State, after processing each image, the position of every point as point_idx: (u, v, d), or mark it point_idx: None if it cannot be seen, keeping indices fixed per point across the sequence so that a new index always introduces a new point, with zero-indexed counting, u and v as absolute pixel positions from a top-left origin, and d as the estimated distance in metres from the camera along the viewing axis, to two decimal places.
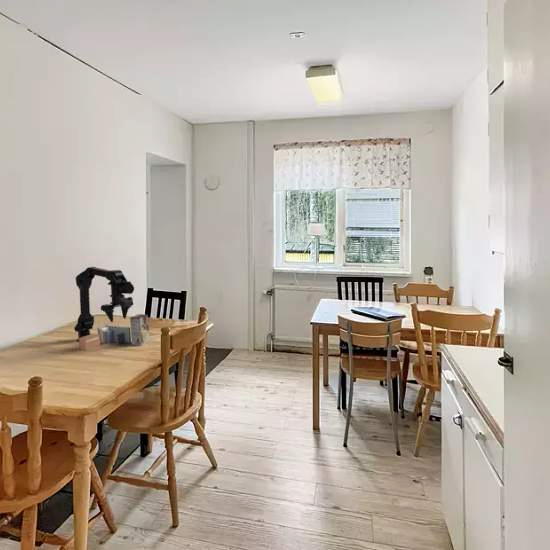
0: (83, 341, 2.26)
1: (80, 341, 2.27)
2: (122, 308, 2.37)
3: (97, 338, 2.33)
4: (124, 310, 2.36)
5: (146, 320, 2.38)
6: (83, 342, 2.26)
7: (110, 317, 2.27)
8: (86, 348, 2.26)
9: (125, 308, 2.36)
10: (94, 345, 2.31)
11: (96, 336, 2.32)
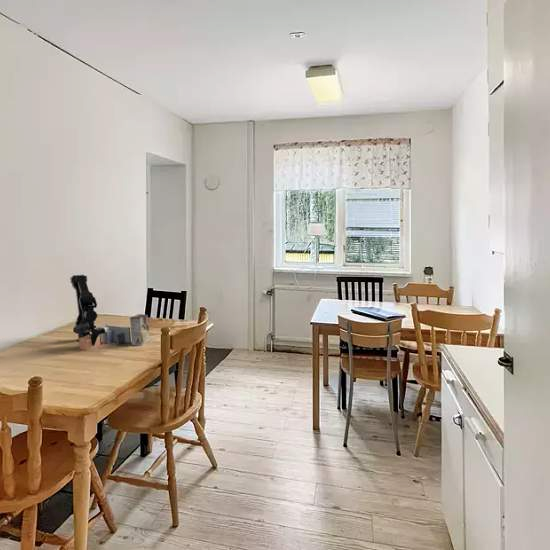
0: (83, 341, 2.26)
1: (80, 341, 2.27)
2: None
3: (97, 338, 2.33)
4: None
5: (146, 320, 2.38)
6: (83, 342, 2.26)
7: None
8: (86, 348, 2.26)
9: None
10: (94, 345, 2.31)
11: None
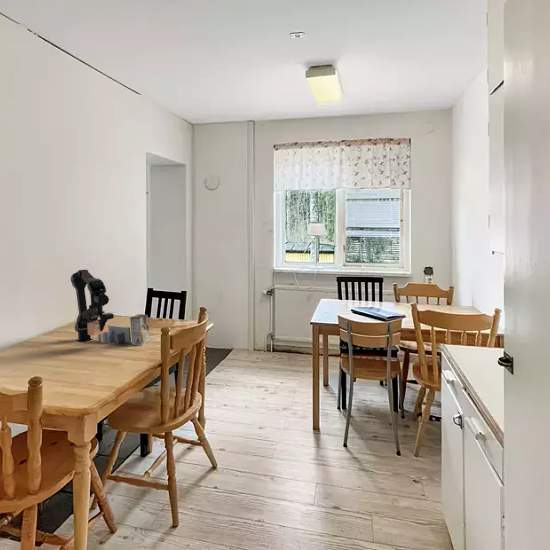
0: (91, 326, 2.22)
1: (88, 326, 2.23)
2: None
3: (106, 323, 2.30)
4: None
5: (146, 320, 2.38)
6: (91, 327, 2.23)
7: None
8: (94, 333, 2.23)
9: None
10: None
11: None
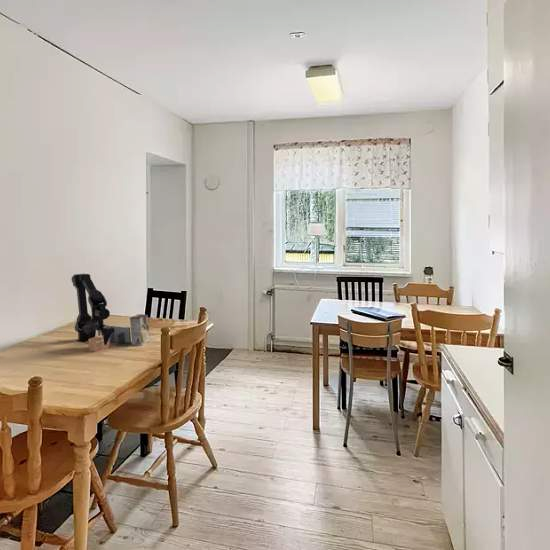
0: (92, 342, 2.23)
1: (89, 342, 2.24)
2: None
3: None
4: None
5: (146, 320, 2.38)
6: (92, 343, 2.24)
7: None
8: (95, 349, 2.24)
9: None
10: (103, 346, 2.29)
11: None
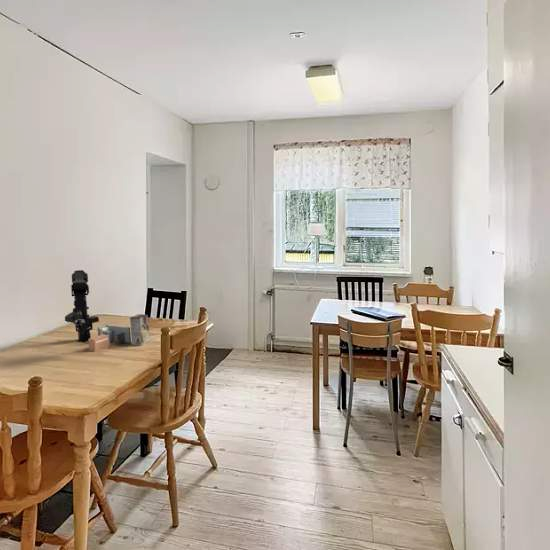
0: (92, 342, 2.24)
1: (89, 342, 2.25)
2: None
3: (107, 339, 2.31)
4: None
5: (146, 320, 2.38)
6: (92, 343, 2.24)
7: None
8: (95, 349, 2.24)
9: None
10: (103, 346, 2.29)
11: (105, 337, 2.30)
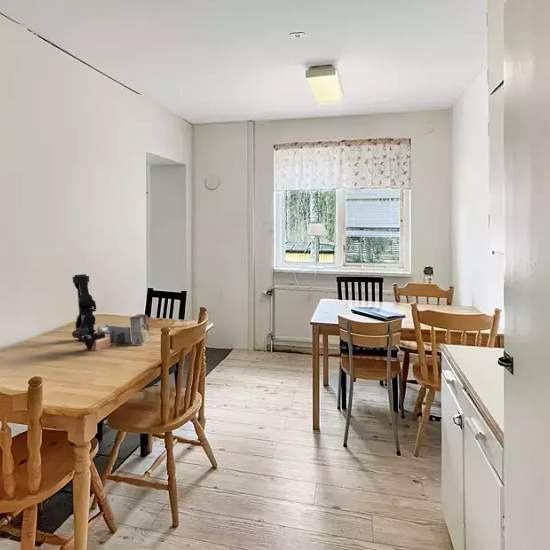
0: (94, 341, 2.24)
1: None
2: None
3: (108, 338, 2.31)
4: None
5: (146, 320, 2.38)
6: None
7: None
8: (97, 348, 2.25)
9: None
10: (104, 345, 2.30)
11: (106, 336, 2.31)
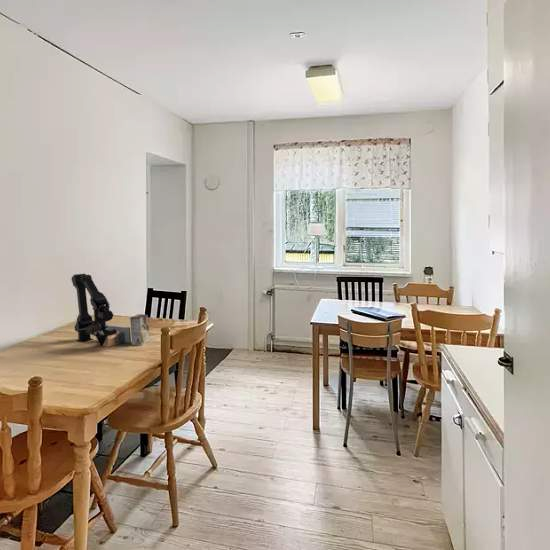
0: (106, 338, 2.31)
1: None
2: None
3: None
4: None
5: (146, 320, 2.38)
6: None
7: None
8: (108, 344, 2.32)
9: None
10: None
11: (118, 333, 2.38)
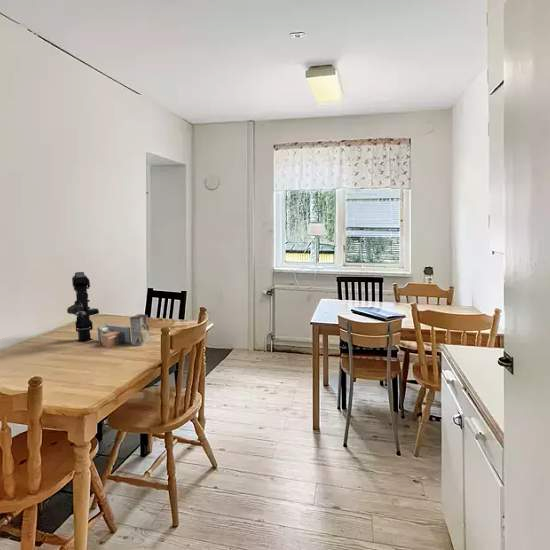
0: (106, 338, 2.31)
1: (103, 338, 2.32)
2: None
3: None
4: None
5: (146, 320, 2.38)
6: (105, 338, 2.32)
7: None
8: (108, 345, 2.32)
9: None
10: None
11: (118, 333, 2.38)
